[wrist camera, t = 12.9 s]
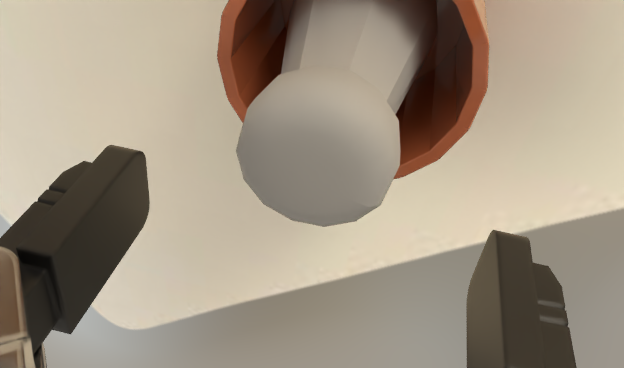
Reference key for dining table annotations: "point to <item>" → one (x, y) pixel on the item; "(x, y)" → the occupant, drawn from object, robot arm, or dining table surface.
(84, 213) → the robot arm
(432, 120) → the cup
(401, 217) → the dining table surface
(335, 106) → the salt shaker
